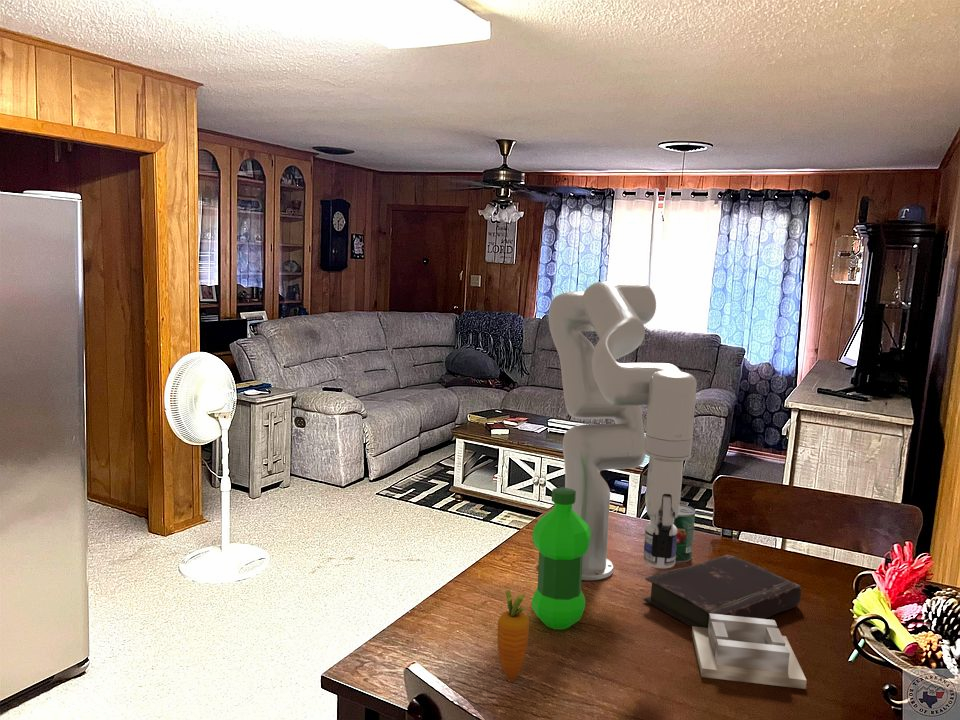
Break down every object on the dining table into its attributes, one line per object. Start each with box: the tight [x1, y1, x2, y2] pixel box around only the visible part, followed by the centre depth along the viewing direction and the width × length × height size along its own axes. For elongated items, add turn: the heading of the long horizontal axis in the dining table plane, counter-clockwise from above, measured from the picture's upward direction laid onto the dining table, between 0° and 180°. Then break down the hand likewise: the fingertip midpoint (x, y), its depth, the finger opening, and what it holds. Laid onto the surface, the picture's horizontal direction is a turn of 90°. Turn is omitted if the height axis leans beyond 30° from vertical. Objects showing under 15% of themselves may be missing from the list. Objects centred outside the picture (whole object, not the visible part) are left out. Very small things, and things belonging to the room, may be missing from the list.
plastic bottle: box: [531, 487, 591, 630], centre depth 136 cm, size 10×10×25 cm
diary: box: [643, 554, 802, 628], centre depth 146 cm, size 19×25×5 cm
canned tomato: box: [673, 503, 696, 564], centre depth 169 cm, size 8×8×11 cm
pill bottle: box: [643, 512, 677, 569], centre depth 127 cm, size 5×5×9 cm
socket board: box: [691, 613, 807, 690], centre depth 126 cm, size 16×14×5 cm
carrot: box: [497, 589, 530, 683], centre depth 117 cm, size 5×5×15 cm
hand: (659, 548), depth 127 cm, fingers closed on pill bottle, 5 cm apart
